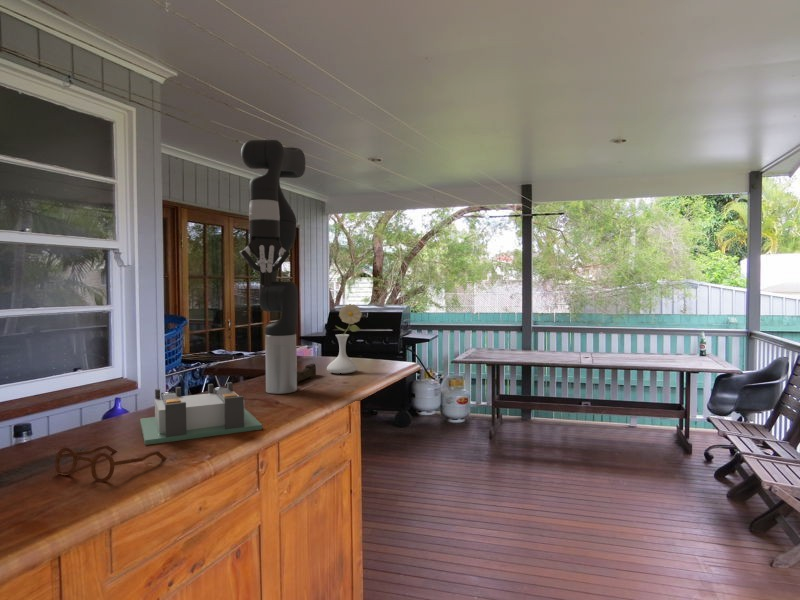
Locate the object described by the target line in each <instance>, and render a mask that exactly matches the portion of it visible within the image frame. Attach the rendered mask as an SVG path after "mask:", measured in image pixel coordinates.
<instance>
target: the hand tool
mask: <svg viewBox="0 0 800 600" xmlns="http://www.w3.org/2000/svg"><path fill="white" fill-rule="evenodd" d="M316 375H317V367H316V364H315V363H310V364H307V365H305V367H304V368H303V369H300V370H297V385H298V384H299V382H301V381H304V380H306V379H311V378H310V377H313V378H315V377H316Z"/></svg>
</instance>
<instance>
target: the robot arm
mask: <svg viewBox="0 0 800 600" xmlns="http://www.w3.org/2000/svg"><path fill="white" fill-rule="evenodd" d="M240 155H241V161H242V162H243V163H244V165H245V166H246V167H248V168H249V169H253V170H254V169H257V170H259V169H260V170H261V169H262V170H267V172H266V173H265V174H263V175H261V176H256V177H253V178H251V179H250V180H249V207H248V227H249V228H248V231H249V232H248V234H249V238H248V242H247V246H246V247H244V249H242V250H240V251H239V255H240V257H241V258H242V259H243V260H244V262H245V263H246V264H247V265H248V266H249V267H250V269H251V270H252V271H255V272H257V273H258V278H259V279H258V280H259V283H258V284H259V288H258V303H259V307H260V309H261V310H262V311H264V312H266V313H267V312H268V313H274V312H275V313H281V315H280V317H279V319H278V320H276V321H274V322H272V323H269V324H267V325H266V326H265V328H264V340H265V341H264V343H265V345H264V347H265V349H264V350H265V355H264V356H265V392H266V393H268V394H278V395H279V394H290V393H295V392H296V391H297V390H298V384H297V372H298V367H297V366H298V365H297V364H298V362H297V361H298V360H297V358H298V357H297V326H298V313H299V312H298V310H299V293H298V292H299V291H298V288H297V284H296V283H295V282H293V281H289V280H288V281H287V280H284V281H282V280H278V281H277V278H278V273H279V270H280V268H281V266H282V265H283V264H284V262H285V261H286V260H287V259H288V257H289V256H290V254H291V253H290V251H291V249H292V247H293V246H294V244H295V241H296V233H297V218H296V215H295V213H294V211H293V208H292V207H291V205H290V204H289V202H288V201H287V199H286V197H285V195H284V192H283V190H282V188H281V184H280V183H281V182H280V180H281V178H289V179H298V178H301V177H302V176H303V175H304V174H305V172H306V171H305V170H306V156H305V153H304V151H303V150H302V149H300V148H298V147H289V146H285V147H284V146H283V144H282V142H280V141H279V140H276V139H249V140H246V141H245V142H244V143H243V145H242V146H241V150H240ZM251 254H252V255H253V257H254V258H256V262H255V261H254V259H253V258H252V257H251Z"/></svg>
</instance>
